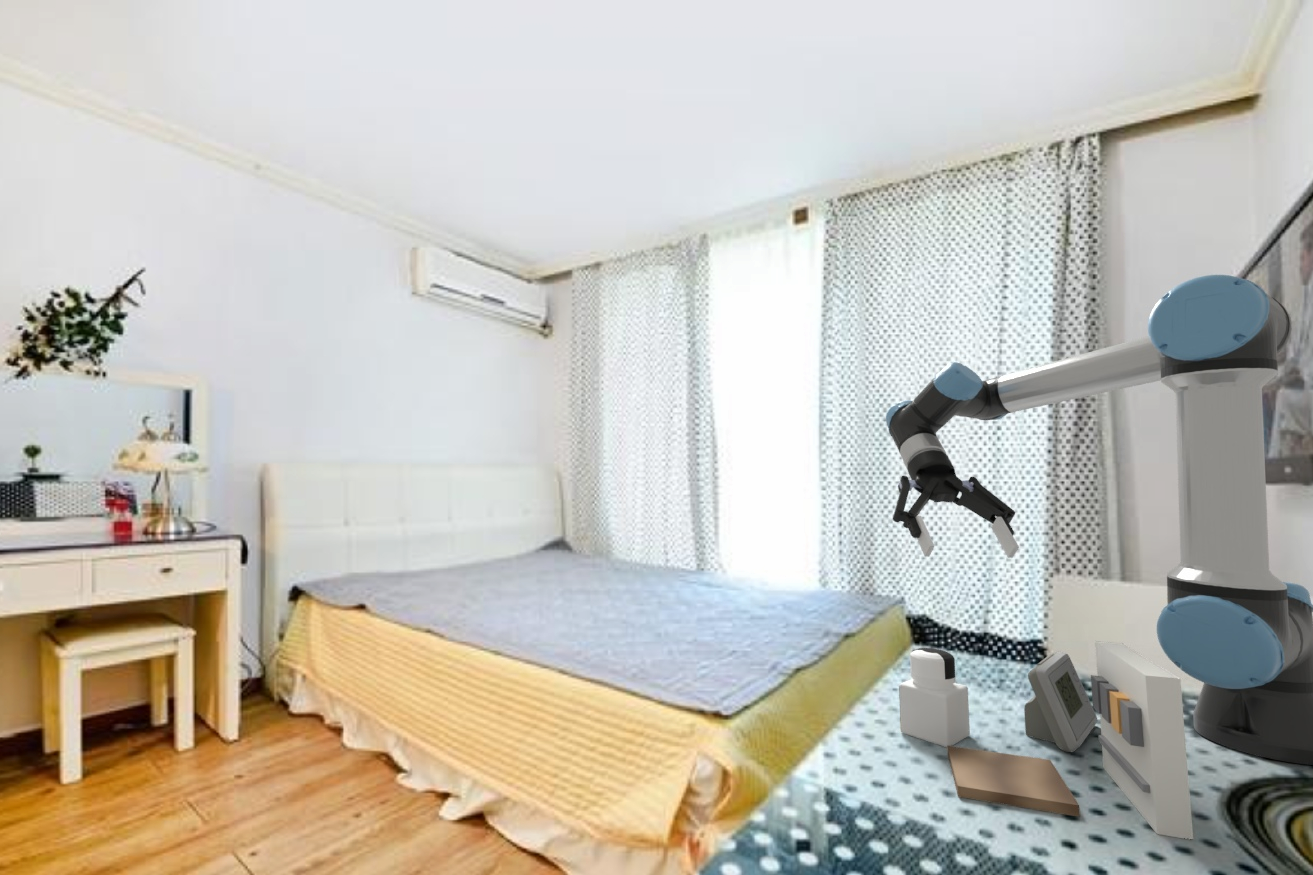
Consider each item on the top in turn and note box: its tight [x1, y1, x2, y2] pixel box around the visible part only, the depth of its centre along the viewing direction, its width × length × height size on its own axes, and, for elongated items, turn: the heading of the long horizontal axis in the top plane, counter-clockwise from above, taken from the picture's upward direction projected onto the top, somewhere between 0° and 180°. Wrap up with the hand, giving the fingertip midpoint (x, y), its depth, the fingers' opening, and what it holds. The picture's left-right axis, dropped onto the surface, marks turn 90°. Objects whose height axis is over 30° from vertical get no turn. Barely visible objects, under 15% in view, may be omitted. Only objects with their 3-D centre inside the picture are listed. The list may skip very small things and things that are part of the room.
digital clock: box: [1023, 650, 1098, 753], centre depth 88 cm, size 16×9×11 cm, turn 123°
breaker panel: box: [1090, 640, 1194, 840], centre depth 69 cm, size 4×16×16 cm, turn 159°
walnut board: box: [946, 745, 1081, 818], centre depth 73 cm, size 12×12×1 cm
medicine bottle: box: [898, 647, 971, 749], centre depth 88 cm, size 7×7×12 cm
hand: (971, 552), depth 96 cm, fingers open, 13 cm apart
